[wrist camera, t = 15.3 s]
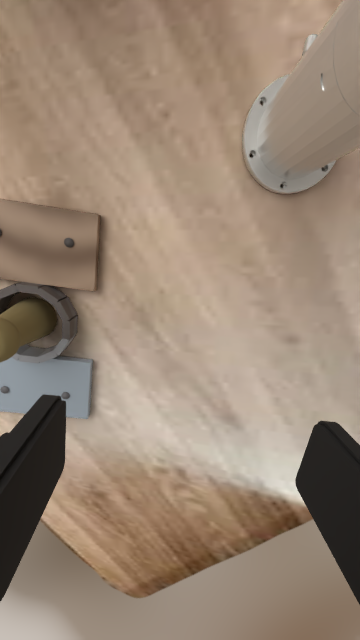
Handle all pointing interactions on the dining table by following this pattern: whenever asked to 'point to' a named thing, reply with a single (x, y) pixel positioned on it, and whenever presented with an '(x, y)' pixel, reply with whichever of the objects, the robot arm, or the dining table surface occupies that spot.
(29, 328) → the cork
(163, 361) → the dining table surface
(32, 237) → the leaf
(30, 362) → the leaf
